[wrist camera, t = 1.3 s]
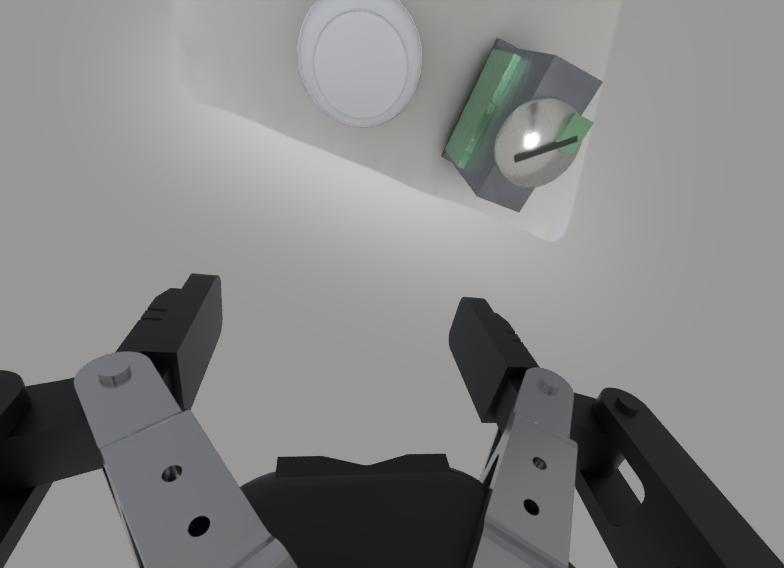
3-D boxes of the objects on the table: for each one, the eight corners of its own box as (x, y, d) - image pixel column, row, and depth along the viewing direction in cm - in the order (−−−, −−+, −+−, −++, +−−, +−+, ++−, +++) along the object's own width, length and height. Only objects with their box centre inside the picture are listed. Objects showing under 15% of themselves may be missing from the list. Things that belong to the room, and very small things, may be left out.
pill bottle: (294, 61, 32) (262, 86, 20) (343, -36, 29) (340, -75, 17) (368, 117, 35) (380, 169, 23) (420, 37, 32) (465, 48, 20)
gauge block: (433, 152, 38) (466, 203, 27) (487, 33, 32) (556, 40, 22) (481, 172, 40) (530, 227, 29) (541, 62, 34) (629, 82, 23)
